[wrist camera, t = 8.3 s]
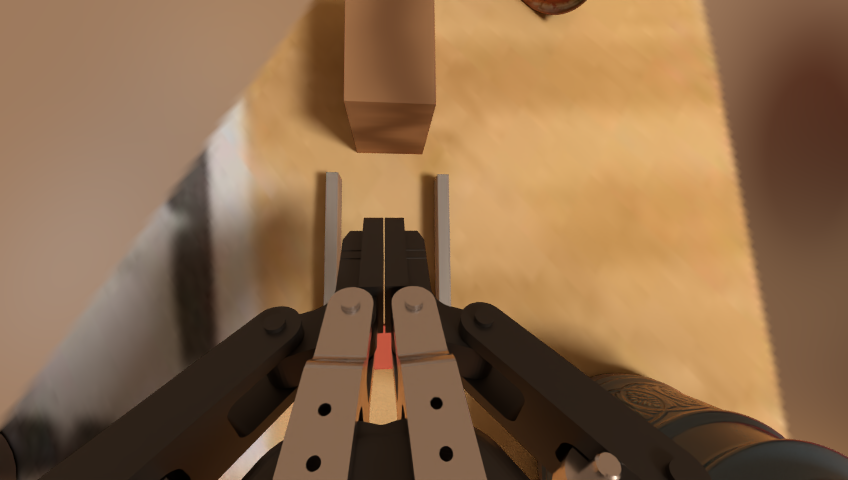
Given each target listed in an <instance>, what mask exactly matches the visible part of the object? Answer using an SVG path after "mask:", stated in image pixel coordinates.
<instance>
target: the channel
mask: <svg viewBox="0 0 848 480" xmlns="http://www.w3.org/2000/svg"><path fill="white" fill-rule="evenodd" d="M341 207H342V179H341V177H340V175H339V173H338V172H326V213H325V266H324V305H326V304H327V303H328V301H329V299H330V297H331V296H332V295H333V294H334V293H335V290H336V284H337V277H338V270H339V263H340V256H341ZM434 221H435V295H436V298H437V299H438V300H439V301H440V302H442V303H443V304H445V305H448V306H451V281H450V226H449V175H448V174H437V177H436V179H435V181H434Z"/></svg>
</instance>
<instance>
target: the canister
mask: <svg viewBox="0 0 848 480" xmlns="http://www.w3.org/2000/svg"><path fill="white" fill-rule="evenodd" d="M591 379H592V380H593V381H595V382H596V383H597V384H599V385H600V386H601V387H603V388H604V389H605V390H607V391H608V392H609V393H611V394H612V395H613V396H615V397H616V398H617V399H619V400H620V401H621V402H623V403H624V404H625V405H627V406H628V407H629V408H630V409H632V410H633V411H634V412H636V413H637V414H638V415H640V416H641V417H642V418H644V419H645V420H646V421H648V422H649V423H650V424H652V425H653V426H654V427H656V428H657V429H658V430H660V431H661V432H662V433H664V434H665V435H666V436H668V437H669V438H670V439H672V440H673V441H674V442H676V443H677V444H678V445H680V446H681V447H682V448H683V449H685V450H686V451H687V452H689V453H690V454H691V455H692V456H694V457H695V458H696V459H697V460H698V461H699V462H700V463H701V464H702V466H703V467H704V468H705V469H706V471H707V472H708V474H709V475H710V477H711V479H712V480H848V457H847V456H845V455H843V454H841V453H839V452H837V451H835V450H833V449H830V448H828V447H825V446H822V445H819V444H816V443H812V442H808V441H803V440H796V439H785V438H784V437H783V436H782V435H781V434H779V433H778V432H776V431H775V430H774V429H772V428H771V427H769V426H767V425H766V424H764V423H762V422H760V421H758V420H756V419H754V418H751V417H749V416H746V415H743V414H740V413H736V412H732V411H726V410H722V409H719V408H717V407H714V406H712V405H710V404H707V403H705V402H702V401H700V400H697V399H695V398H692V397H690V396H687V395H685V394H682V393H681V392H680V391H678V390H676V389H675V388H673V387H671V386H669V385H667V384H664V383H662V382H659V381H656V380H654V379H651V378H648V377H644V376H639V375H632V374H621V373H609V374H602V375H597V376H594V377H591ZM537 463H538V475H539V480H552V476H553V475H552V474H551V473H550V472H549V471H548V470H547V469H546V468H545V467H544V466H543V465H542V464H541V463H540V462H539V461H538V462H537Z"/></svg>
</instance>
